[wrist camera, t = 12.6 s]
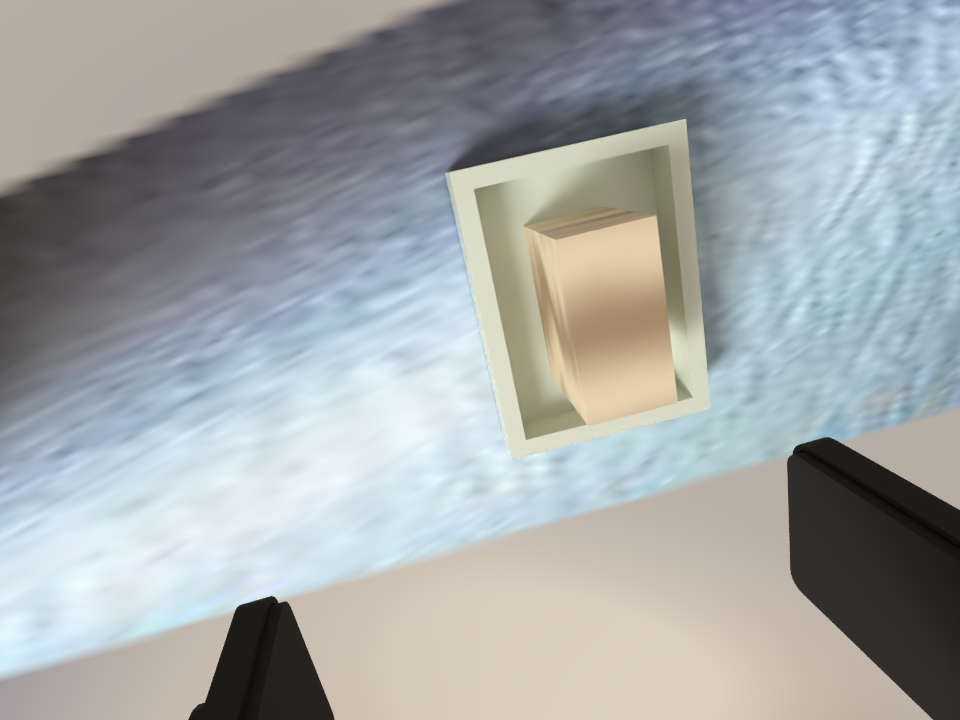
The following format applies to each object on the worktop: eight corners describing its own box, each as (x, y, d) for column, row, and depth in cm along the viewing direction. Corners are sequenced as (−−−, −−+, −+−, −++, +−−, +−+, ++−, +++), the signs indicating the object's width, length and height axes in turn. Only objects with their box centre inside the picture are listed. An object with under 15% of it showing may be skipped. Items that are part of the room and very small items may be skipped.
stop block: (523, 226, 31) (555, 239, 24) (602, 206, 31) (656, 215, 24) (552, 377, 34) (588, 426, 27) (624, 358, 34) (677, 402, 27)
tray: (503, 437, 35) (512, 459, 33) (444, 172, 30) (449, 172, 27) (686, 390, 36) (710, 408, 33) (660, 124, 31) (686, 118, 28)
